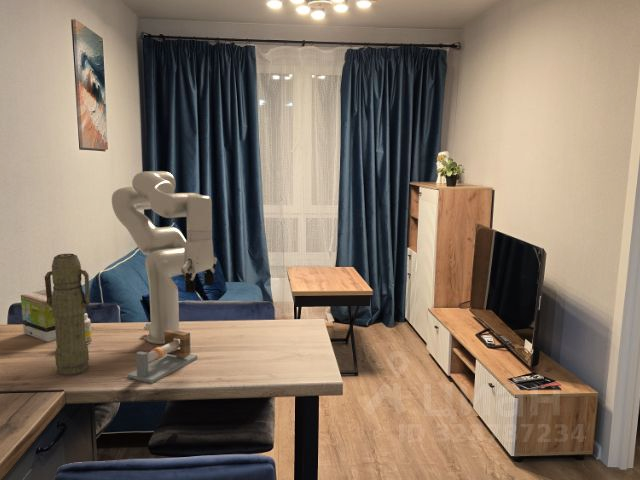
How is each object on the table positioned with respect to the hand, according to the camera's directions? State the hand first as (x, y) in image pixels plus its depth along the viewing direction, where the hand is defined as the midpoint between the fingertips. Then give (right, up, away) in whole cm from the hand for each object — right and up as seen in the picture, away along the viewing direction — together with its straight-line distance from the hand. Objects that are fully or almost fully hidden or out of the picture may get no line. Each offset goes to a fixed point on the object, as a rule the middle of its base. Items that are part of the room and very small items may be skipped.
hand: (200, 288), depth 166 cm
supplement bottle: (-43, -20, +13) cm, 49 cm away
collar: (-7, -20, -1) cm, 22 cm away
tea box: (-59, -19, +22) cm, 66 cm away
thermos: (-36, -24, -9) cm, 44 cm away
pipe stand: (-9, -23, -6) cm, 26 cm away
